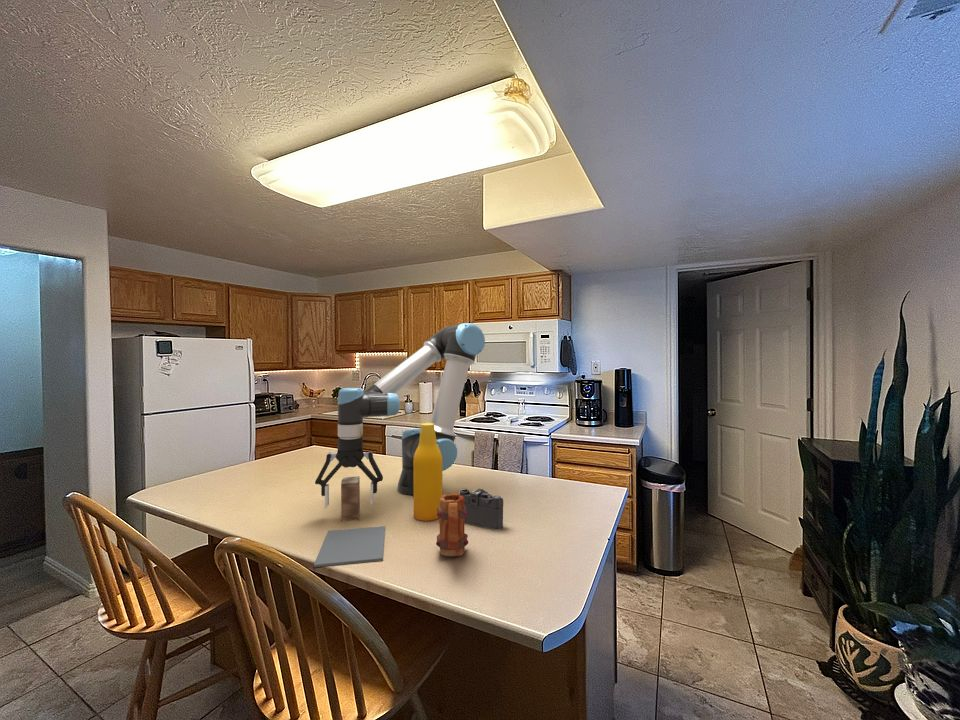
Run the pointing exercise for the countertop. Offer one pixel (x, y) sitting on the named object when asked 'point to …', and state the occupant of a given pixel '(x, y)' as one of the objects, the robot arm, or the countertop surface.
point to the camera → (483, 509)
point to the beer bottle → (427, 475)
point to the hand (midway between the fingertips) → (349, 504)
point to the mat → (351, 546)
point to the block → (350, 498)
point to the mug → (452, 525)
